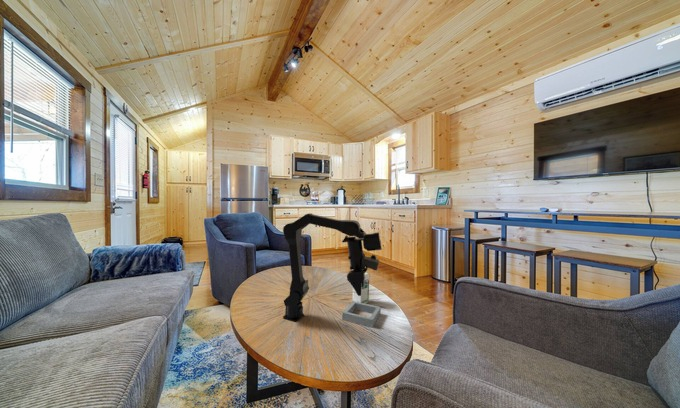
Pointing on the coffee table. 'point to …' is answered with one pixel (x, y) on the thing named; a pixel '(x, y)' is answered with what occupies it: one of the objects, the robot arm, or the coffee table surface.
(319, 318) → the coffee table surface
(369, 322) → the socket board
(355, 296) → the syrup box
